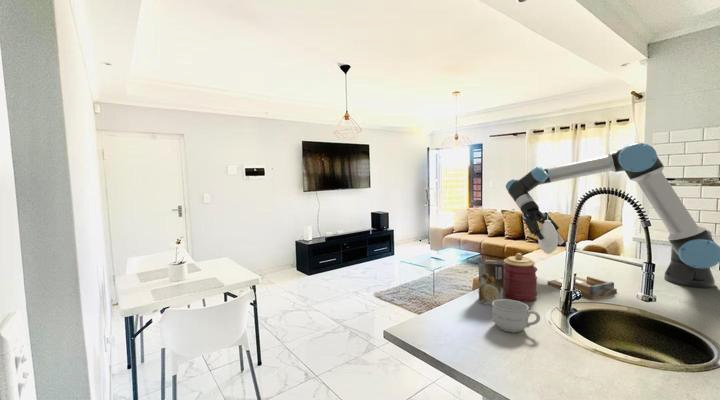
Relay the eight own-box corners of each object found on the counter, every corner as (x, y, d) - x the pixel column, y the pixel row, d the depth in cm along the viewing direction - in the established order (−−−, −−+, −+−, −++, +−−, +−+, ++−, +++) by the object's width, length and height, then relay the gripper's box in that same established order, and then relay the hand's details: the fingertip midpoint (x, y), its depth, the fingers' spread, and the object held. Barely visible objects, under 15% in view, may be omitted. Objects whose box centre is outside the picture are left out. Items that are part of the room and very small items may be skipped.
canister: (544, 299, 126) (545, 254, 124) (519, 304, 121) (519, 259, 120) (518, 288, 138) (518, 247, 136) (494, 292, 133) (494, 251, 132)
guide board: (573, 279, 146) (573, 269, 146) (616, 292, 129) (617, 281, 129) (547, 284, 141) (547, 274, 140) (589, 299, 124) (589, 288, 123)
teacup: (485, 327, 105) (485, 303, 104) (502, 317, 112) (503, 294, 111) (529, 344, 94) (529, 318, 93) (545, 332, 101) (545, 307, 100)
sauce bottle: (554, 250, 151) (553, 213, 149) (561, 255, 144) (560, 215, 142) (536, 251, 153) (535, 213, 151) (542, 255, 145) (541, 216, 143)
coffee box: (503, 300, 126) (504, 260, 124) (504, 306, 120) (504, 264, 119) (479, 297, 129) (478, 258, 128) (478, 303, 123) (478, 262, 122)
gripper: (539, 208, 164) (567, 246, 150) (506, 211, 159) (532, 250, 144) (548, 199, 159) (577, 237, 144) (514, 201, 153) (541, 241, 139)
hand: (554, 244), depth 144 cm, fingers closed on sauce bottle, 7 cm apart
